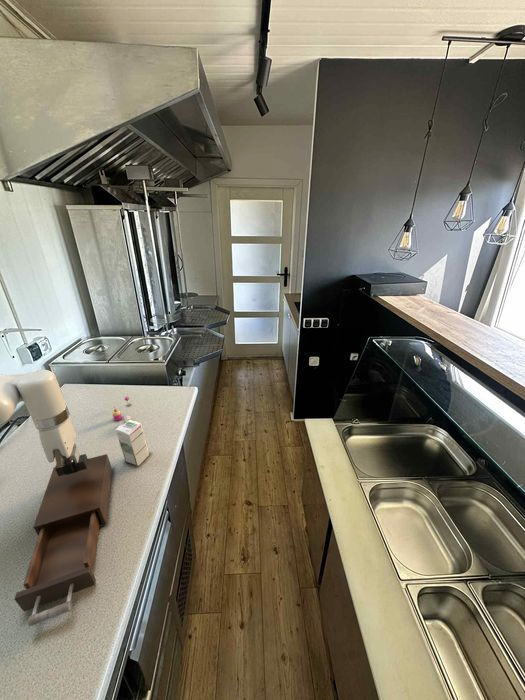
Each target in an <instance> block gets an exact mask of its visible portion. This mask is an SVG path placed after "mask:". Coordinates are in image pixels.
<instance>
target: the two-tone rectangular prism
mask: <svg viewBox="0 0 525 700" xmlns="http://www.w3.org/2000/svg"><path fill="white" fill-rule="evenodd" d="M71 457H72V460H75V463H76V465H77V468H78V471H81V470H85V469H87V466H88V459H89V458H88V456H87V454H86V453H84V454H83V453H82V454H80V453H79V449H78V447H76V448H73V449H72V453H71ZM63 460H68V458H63ZM54 467H55V470H56V472H57V474H58V476H62V475H65V474H64V471H63V469H62V468H57V465H55V466H54Z"/></svg>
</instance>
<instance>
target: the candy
mask: <svg viewBox="0 0 525 700" xmlns="http://www.w3.org/2000/svg"><path fill="white" fill-rule="evenodd" d="M129 400H130V397H129V396H125V397H124V401H126V402H127V403H126V404H127V406H130V404H129ZM113 407H114V409H113V412H112V417H113V420H114V421H120V420H121V419H122V418H123V423H124V422H125V421H126V420H128V419H129V420H132V418H131V416H130V415H125V416H124V417H122V414H121V411H120V410H118V409H117V408H116V406H113Z"/></svg>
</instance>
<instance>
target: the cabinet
mask: <svg viewBox="0 0 525 700" xmlns="http://www.w3.org/2000/svg"><path fill="white" fill-rule="evenodd" d="M87 459H88V466H87V469H85V470H81V471H78V472H76V473H72V474H68V475H62V476H58V474H57V472H56V470H55V467H56V466H53V469H52V472H51V473H50V477H49V480H48V483H47V486H46V489H45V491H44V495H43V497H42V501H41V504H40V506H39V509H38V512H37V515H36V517H35V521H34V524H33V527H32V528H33V529H34V532H35V534H36V535H37V537H38V536H39V533H40V530H41V527H44V526H47V525H50V524H54V523H57V522H60V521H63V520H67V519H70V518H73V517H77V516H80V515H83V514H86V513H90V512H93V511H96V510H97V512H98V514H99V517H100V524H99V528H100V527H102V526H105V525H107V519H108V511H109V501H110V494H111V493H110V492H111V484H112V476H113V466H112V464H111V461H110V458H109V455H108V454H107V453H106V454H101V455H97V456H93V457H89V458H87Z"/></svg>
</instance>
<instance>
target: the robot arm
mask: <svg viewBox="0 0 525 700" xmlns="http://www.w3.org/2000/svg"><path fill="white" fill-rule="evenodd" d="M21 402H23V403H24V406H25V407H26V409H27V412H28V413H29V416H30V417H31V420H32V422H33V425H34V427H35V429H36V430H38V435H39V439H40V440H39V441H40V444H41V446H42V449H43V453H44V454H45V457H46V460H47V461H48V463H53V462H55V464H56V465H57V468H62V469H63V471H64V474H65V475H68V474H72V473H76V472H78V468H77V465H76V463H75V460H72V457H71V453H72V449H73V448H77V445H76V443H75V442H76V438H77V433H76V429H75V426H74V424H73V422H72V420H71V413H70V410H69V407H68V405H67V402H66V400H65V398H64V395H63V392H62V390H61V387H60V384H59V382H58V379H57V376H56V374H55V373H54V372H52V370H48V369H38V370H33V371H31V372H27V373H4V374H0V425H1V424H4V423H5V422H8V420H9V419H11V417H12V416H13V414H14V412H15V410H16V409H17V406H18V405H19V404H20V403H21ZM63 458H68V460H63ZM54 460H55V461H54ZM56 465H55V466H56Z"/></svg>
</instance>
